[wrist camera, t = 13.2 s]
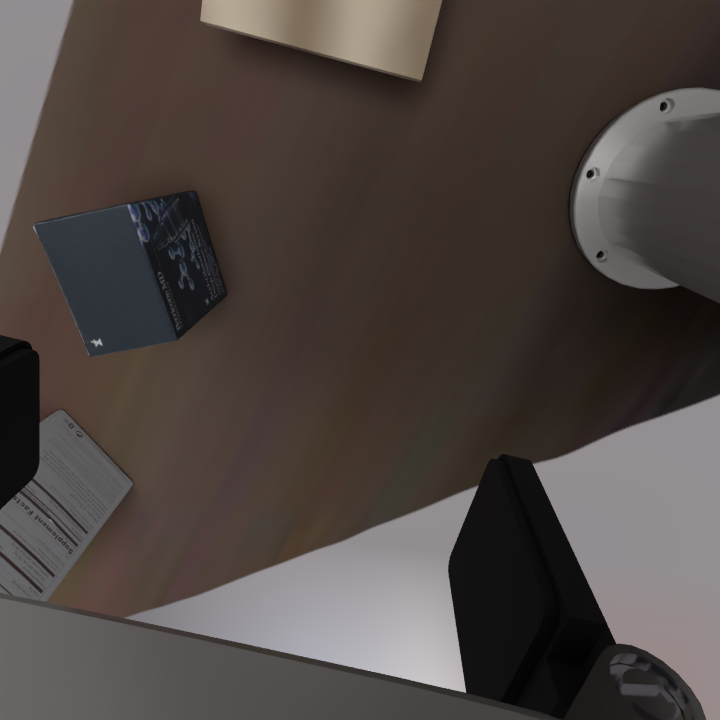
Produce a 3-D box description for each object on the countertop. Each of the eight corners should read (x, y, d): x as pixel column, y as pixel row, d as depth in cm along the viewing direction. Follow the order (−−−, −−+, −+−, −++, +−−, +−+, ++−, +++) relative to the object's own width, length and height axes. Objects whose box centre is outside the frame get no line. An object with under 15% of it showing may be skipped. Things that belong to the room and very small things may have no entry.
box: (230, 294, 39) (177, 344, 29) (159, 307, 39) (86, 360, 30) (197, 187, 36) (127, 202, 26) (122, 203, 37) (26, 224, 27)
